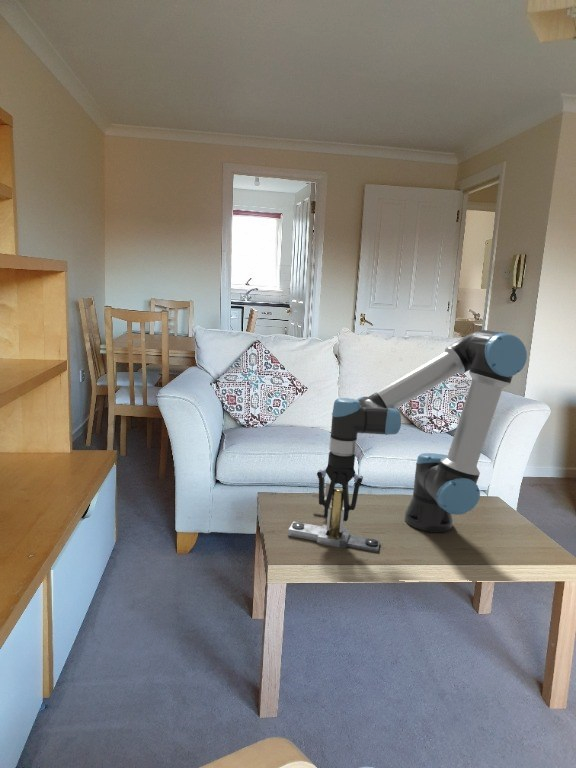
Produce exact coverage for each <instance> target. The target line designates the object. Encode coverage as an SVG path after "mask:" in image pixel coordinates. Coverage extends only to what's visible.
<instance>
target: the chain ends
mask: <svg viewBox="0 0 576 768" xmlns="http://www.w3.org/2000/svg"><path fill="white" fill-rule="evenodd" d="M326 528H327V524H326V525H325V524H323V525H321V526H320V525H317V524H316V525H315V524H311V523H303V522H300V521H293V522H292V523H291V524H290V526H289V528H288V531H287V533H288V534H287V536H289V537H294V538H299V539H303V540H310V541H315V542H316V543H317V544H320V545H326V546H331V547H336V548H342V549H347V548H352V549H356V550H357V549H358V550H362V551H368V552H371V553H372V552H374V553H379V549H380V544H381V540H380V539H376V538H369V537H363V536H358V535H354V534H351V529H347V528H343V531H342V533H341V532H340V537H334V536H329V530H326Z"/></svg>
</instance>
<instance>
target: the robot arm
mask: <svg viewBox="0 0 576 768" xmlns="http://www.w3.org/2000/svg"><path fill="white" fill-rule="evenodd" d="M527 359H528V352H527V348H526V346H525V345H524V342H523V341H522V340H521V339H520V338H519V337H518V336H517V335H514V334H512V333H511V334H510V333H508V332H503V331H493V330H488V329H487V330H486V329H485V330H484V329H482V330H477V331H474V332H472V333H469V334H467V335H466V336H464V337H462V338H460V339H458V340H457V341H456V342H453V343H452V344H450V345H448V346H446V347H445V349H444V352H443V353H440V354H439V355H437V356H436V357H434V358H432V359H431V360H429V361H428V362H426V363H423V364H422V365H421V366H419V367H417V368H415V369H414V370H412V371H411V372H408V373H407V374H405V375H404V376H402V377H400V378H398V379H396V380H395V381H393V382H392V383H390V384H388V385H387V386H385V387H383V388H381V389H379V390H378V391H376V392H374V393H373V394H370V395H369V396H360V397H358V398H357V399H355V398H349V397H338V398H336V399H335V400H334V403H333V406H332V407H333V408H332V413H331V427H330V428H331V430H330V438H329V439H330V440H329V452H328V459H327V466H326V468H324V469H319V470H317V471H318V472H316V476H317V479H318V493H319V498H318V504H319V505H321V506H323V508H324V507H325V510H324V509H323V513H324V514H323V516H324V518H325V519H326V526H327V528H326V530H329V529H330V518H331V507H332V504H331V503H332V500H331V499H332V495H333V490H334V489H335V487H336V484H337V485H341V487H342V488H341V489H343V508H342V511H341V520H340V531H339V532H341V533H342V531H343V529H344V527H345V526H344V525H345V522H347V521H348V520H349V515H350V514H349V513H350V511H354V510H355V509H356V506H357V502H358V495H359V491H360V485H361V484H362V482H363V481H364V477H363V476H362V475H358V474H357V473H356V471H355V460H356V455H355V454H356V451H357V449H356V448H357V441H358V434H368V435H369V434H370V435H371V434H373V435H384V436H387V435H388V436H389V435H397V434H398V433H399V431H400V430H401V425H402V416H401V412H400V410H399V409H398V408H400V407H401V406H403V405H404V404H406V403H408V402H410V401H412V400H413V399H416V398H417V397H418V396H420V395H422V394H424V393H425V392H428V391H429V390H431V389H432V388H434V387H436V386H438V385H439V384H441V383H443V382H445V381H447V380H448V379H450V378H451V377H453V376H455V375H458V374H460V375H463V374H466V373H467V372H468V373H469V375H470V377H471V382H470V385H469V389H468V392H467V394H466V395H467V396H466V397H465V401H464V405H463V408H462V411H461V412H460V413H461V414H460V417H459V420H458V422H457V424H456V425H457V426H456V429H455V431H454V435H453V438H452V441H451V444H450V447H449V449H448V450H449V451H448V453H447V454H442V453H431V452H427V453H426V452H425V453H420V454H419V455H418V456H417V458H416V463H415V473H414V481H413V482H414V483H413V492H412V498H411V499H410V501H409V504H408V506H407V508H406V510H405V513H404V522H406V523H407V524H408V525H409V526H411V527H412V528H414V529H417V530H420V531H423V532H429V533H445V532H449V531H451V530H452V528H453V522H454V520H453V516H452V515H456V516H457V515H459V516H460V515H464V514H466V513H468V512H471V511H473V509H474V508H475V507H476V506H477V505H478V503H479V502H480V497H481V492H480V489H479V488H480V487H479V486H478V484H477V482H478V481H479V477H480V474H481V472H480V470H479V469H478V466H477V465H478V464H479V463H478V462H479V460H480V457H481V454H482V451H483V449H484V448H483V447H484V444H485V443H486V440H487V436H488V434H489V430H490V427H491V424H492V421H493V418H494V414H495V412H496V409H497V407H498V404H499V401H500V398H501V394H502V391H503V389H504V388H505V387H507V386H510V385H511V382H512V380H513V376H516V375H518V373H520V372H521V371H523V369H524V368H525V365H526V363H527ZM326 476H327V477H328V478H329V480H330V482H331V483H330V487H329V491H328V495H327V499H326V500H324V494H325V489H326V482H325V477H326ZM352 479H354V480H353V482H354V483H355V484H354V487H353V493H352V497H351V498H352V499H351V503H350V494H349V482H350V481H351V480H352Z"/></svg>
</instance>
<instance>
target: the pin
mask: <svg viewBox="0 0 576 768" xmlns="http://www.w3.org/2000/svg"><path fill="white" fill-rule="evenodd" d="M331 506H332V507H331V518H330V529H329V535H328V536H334V537H339V538H341V537H340V532H339V531H340V520H341V511H342V508H344V500H343V488H341V487H339V488H338V487H336V488H335V487H334V490H333V496H332V500H331Z"/></svg>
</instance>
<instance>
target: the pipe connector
mask: <svg viewBox="0 0 576 768" xmlns="http://www.w3.org/2000/svg"><path fill="white" fill-rule="evenodd" d="M330 483H331V481H326V482H325V489H324V500H326V499H327V495H328V491H329V487H330ZM332 496H333V495H332ZM311 498H314V499H319V492H316V491H313V492H312V497H311ZM331 501H332V499H331ZM324 510H325V507H324V506H323V511H324Z"/></svg>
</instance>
